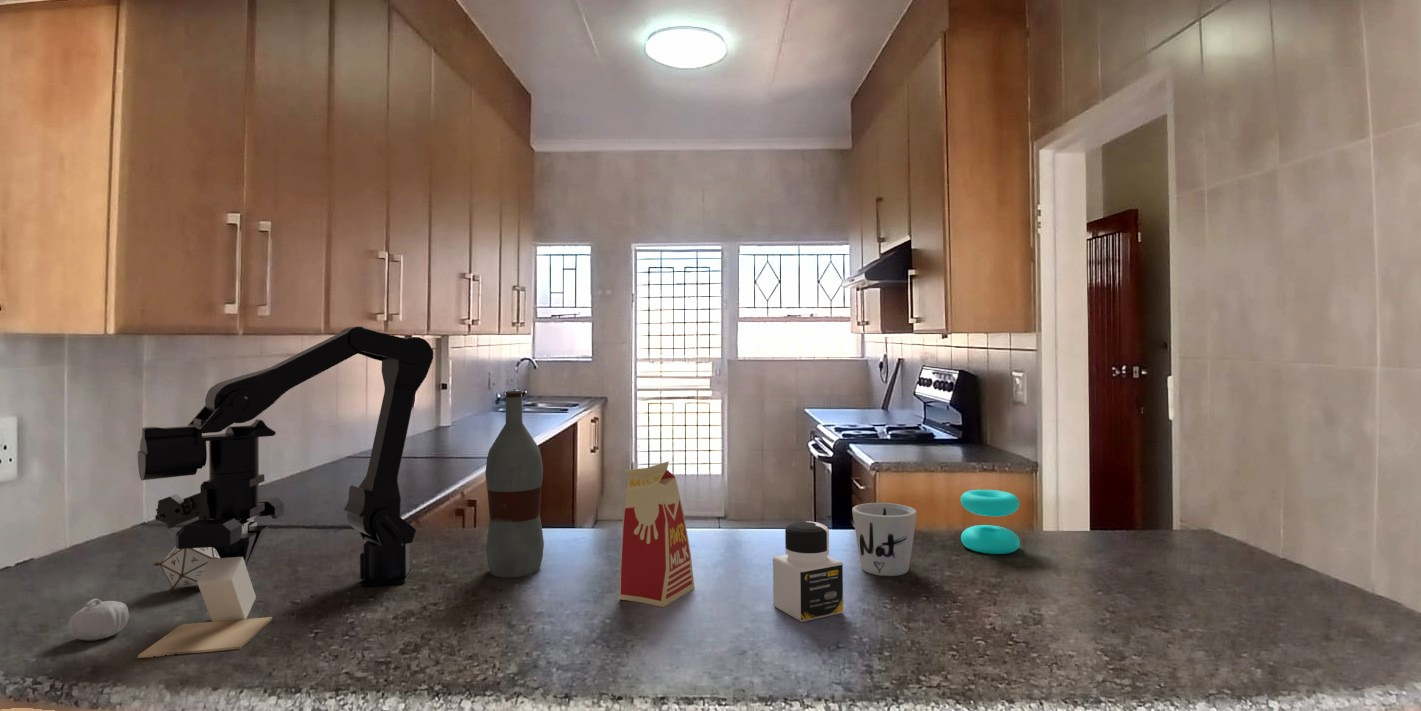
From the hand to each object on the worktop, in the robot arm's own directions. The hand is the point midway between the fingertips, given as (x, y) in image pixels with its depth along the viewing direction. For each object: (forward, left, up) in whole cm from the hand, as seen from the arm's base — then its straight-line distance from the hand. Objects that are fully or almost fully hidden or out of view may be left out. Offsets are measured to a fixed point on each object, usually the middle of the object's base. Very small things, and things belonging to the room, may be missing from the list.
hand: (235, 582), depth 97 cm
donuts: (-121, -4, -5) cm, 121 cm away
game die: (+12, -15, -5) cm, 20 cm away
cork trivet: (0, +8, -5) cm, 9 cm away
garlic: (+14, +4, -5) cm, 15 cm away
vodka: (-37, -12, -5) cm, 39 cm away
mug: (-98, +1, -5) cm, 98 cm away
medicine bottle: (-78, +17, -5) cm, 80 cm away
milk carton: (-58, +5, -5) cm, 59 cm away
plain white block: (0, 0, -4) cm, 4 cm away
